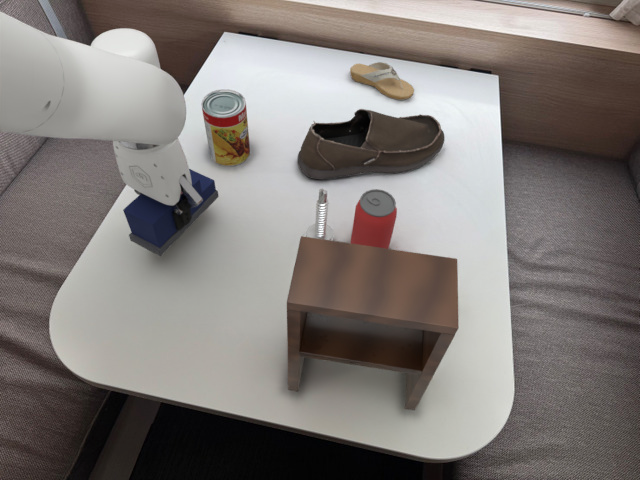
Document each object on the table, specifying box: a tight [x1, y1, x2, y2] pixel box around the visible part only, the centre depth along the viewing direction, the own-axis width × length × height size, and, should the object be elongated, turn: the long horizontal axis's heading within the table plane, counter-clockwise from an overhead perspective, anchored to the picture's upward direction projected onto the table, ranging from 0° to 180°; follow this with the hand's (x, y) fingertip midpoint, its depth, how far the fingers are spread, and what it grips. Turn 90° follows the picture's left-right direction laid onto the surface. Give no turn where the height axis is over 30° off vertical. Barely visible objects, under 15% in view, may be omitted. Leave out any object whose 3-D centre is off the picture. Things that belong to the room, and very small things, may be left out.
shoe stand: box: [286, 236, 459, 411], centre depth 66 cm, size 18×9×24 cm, turn 82°
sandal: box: [349, 61, 415, 101], centre depth 116 cm, size 7×16×5 cm, turn 65°
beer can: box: [349, 188, 398, 249], centre depth 85 cm, size 7×7×12 cm
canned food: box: [200, 88, 251, 167], centre depth 98 cm, size 8×8×12 cm
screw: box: [305, 188, 335, 241], centre depth 85 cm, size 13×5×5 cm
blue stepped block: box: [122, 168, 220, 258], centre depth 83 cm, size 15×6×7 cm, turn 151°
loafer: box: [296, 108, 445, 180], centre depth 99 cm, size 11×30×11 cm, turn 110°
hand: (168, 215), depth 83 cm, fingers closed on blue stepped block, 5 cm apart
